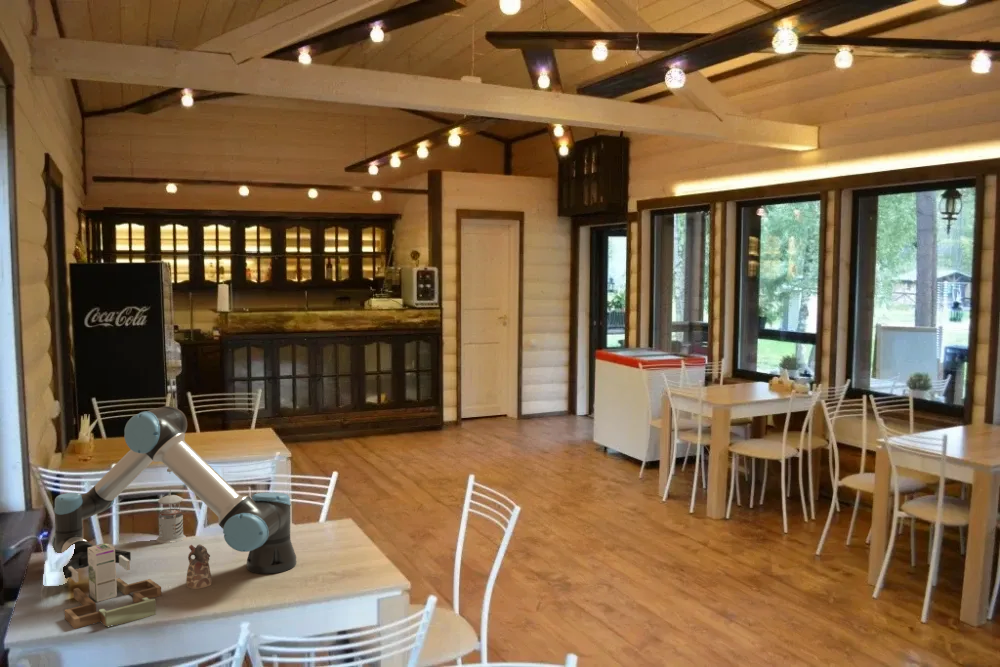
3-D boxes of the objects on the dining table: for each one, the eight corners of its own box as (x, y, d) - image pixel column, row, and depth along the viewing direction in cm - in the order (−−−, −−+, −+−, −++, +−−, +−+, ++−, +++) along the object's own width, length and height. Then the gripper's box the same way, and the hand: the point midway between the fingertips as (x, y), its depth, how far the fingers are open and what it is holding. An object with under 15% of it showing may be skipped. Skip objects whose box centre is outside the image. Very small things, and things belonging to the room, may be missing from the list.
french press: (151, 543, 273) (149, 471, 271) (163, 532, 284) (162, 463, 283) (180, 543, 273) (179, 471, 272) (191, 532, 285) (190, 463, 283)
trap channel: (49, 603, 221) (49, 589, 221) (141, 580, 239) (141, 567, 238) (81, 635, 202) (80, 619, 202) (178, 607, 219) (178, 593, 219)
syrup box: (117, 596, 227) (116, 546, 226) (95, 602, 222) (94, 551, 221) (109, 591, 231) (108, 542, 230) (88, 597, 226) (86, 547, 225)
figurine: (206, 589, 233) (205, 548, 232) (182, 588, 233) (181, 548, 232) (215, 580, 240) (214, 540, 239) (192, 579, 240) (191, 540, 239)
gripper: (122, 555, 249) (148, 573, 234) (33, 575, 232) (54, 596, 216) (122, 531, 249) (148, 548, 233) (32, 549, 231) (53, 569, 216)
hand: (103, 571), depth 225 cm, fingers open, 13 cm apart
